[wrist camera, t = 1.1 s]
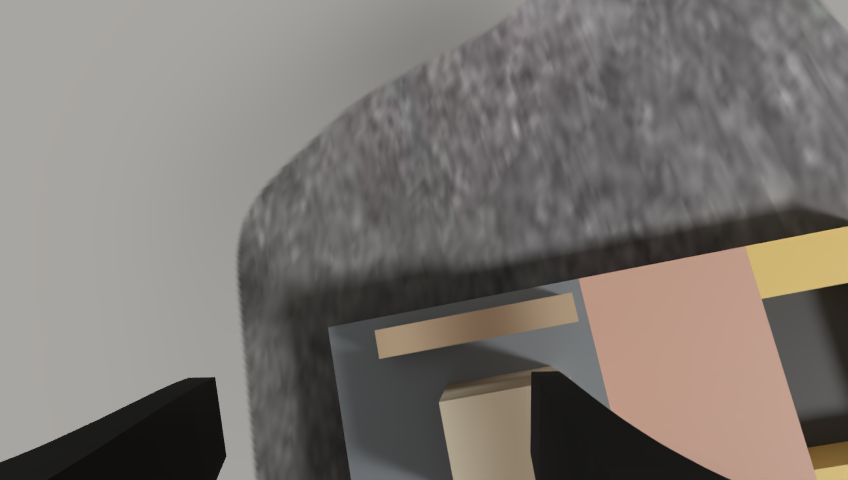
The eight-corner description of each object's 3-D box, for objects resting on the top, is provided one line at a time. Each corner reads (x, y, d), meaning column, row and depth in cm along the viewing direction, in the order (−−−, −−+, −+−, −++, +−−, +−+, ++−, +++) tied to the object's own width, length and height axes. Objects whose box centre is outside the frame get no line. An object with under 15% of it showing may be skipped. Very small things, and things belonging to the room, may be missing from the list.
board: (382, 567, 20) (369, 601, 18) (344, 326, 22) (327, 327, 20) (957, 477, 19) (1029, 501, 16) (867, 224, 21) (920, 212, 18)
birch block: (467, 495, 18) (464, 544, 14) (446, 384, 19) (438, 402, 15) (576, 477, 18) (603, 521, 14) (551, 365, 19) (570, 378, 15)
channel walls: (427, 577, 18) (421, 609, 16) (384, 329, 19) (374, 330, 18) (621, 547, 17) (640, 576, 15) (562, 294, 19) (572, 292, 17)
